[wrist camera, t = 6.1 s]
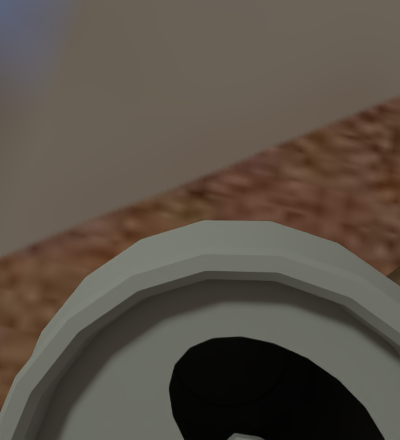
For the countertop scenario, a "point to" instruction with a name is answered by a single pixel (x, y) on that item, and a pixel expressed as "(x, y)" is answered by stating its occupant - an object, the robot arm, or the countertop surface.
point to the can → (218, 344)
